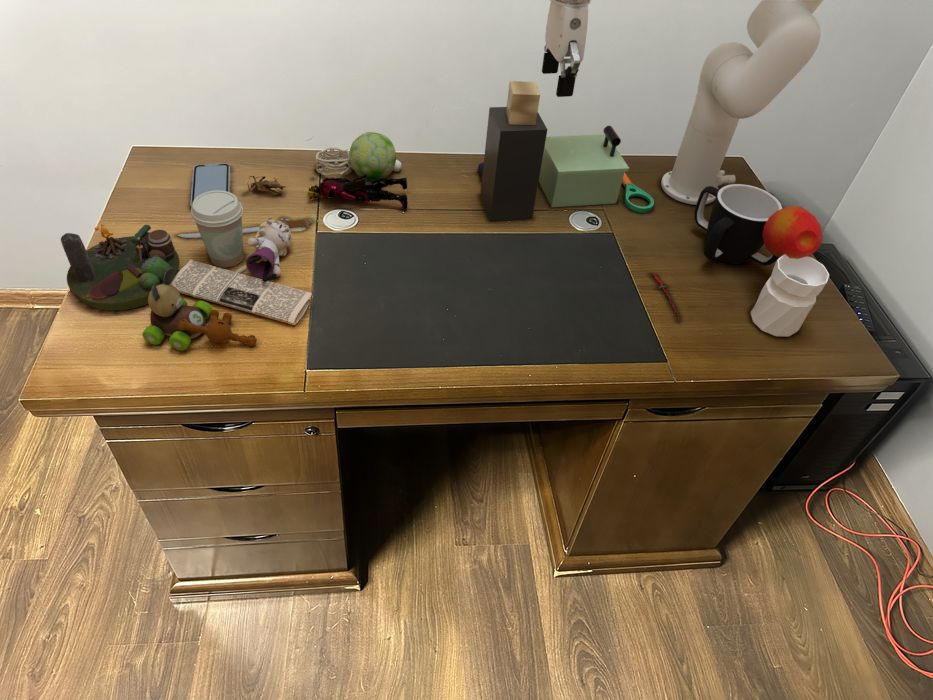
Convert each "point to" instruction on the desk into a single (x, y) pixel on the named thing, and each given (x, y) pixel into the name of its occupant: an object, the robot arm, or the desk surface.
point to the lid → (586, 153)
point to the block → (522, 103)
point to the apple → (792, 233)
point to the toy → (268, 249)
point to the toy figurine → (218, 329)
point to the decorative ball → (372, 156)
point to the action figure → (359, 189)
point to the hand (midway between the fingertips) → (556, 84)
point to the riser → (511, 166)
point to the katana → (665, 293)
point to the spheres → (397, 166)
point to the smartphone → (210, 179)
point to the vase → (789, 295)
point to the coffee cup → (220, 226)
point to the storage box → (578, 186)
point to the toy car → (173, 315)
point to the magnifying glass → (636, 192)
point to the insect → (265, 185)
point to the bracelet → (328, 166)
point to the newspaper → (242, 292)
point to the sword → (293, 226)
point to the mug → (736, 223)
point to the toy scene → (119, 267)
